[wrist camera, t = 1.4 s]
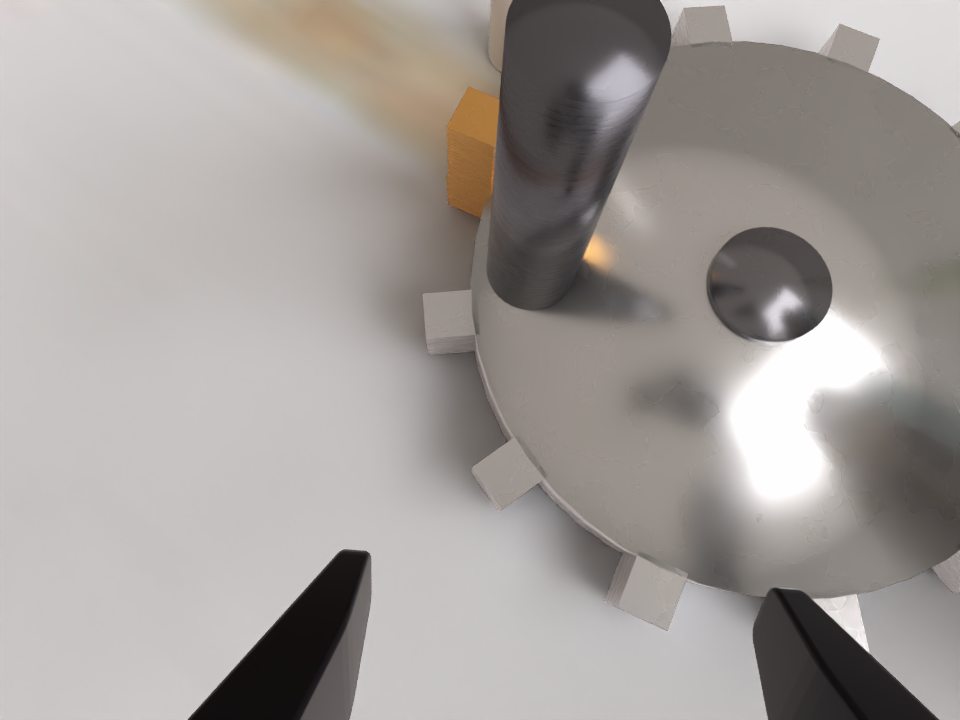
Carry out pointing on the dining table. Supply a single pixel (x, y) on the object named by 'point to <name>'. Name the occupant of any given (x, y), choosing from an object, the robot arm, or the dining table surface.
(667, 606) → the sprocket
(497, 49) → the pointer post
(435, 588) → the dining table surface
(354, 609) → the robot arm
